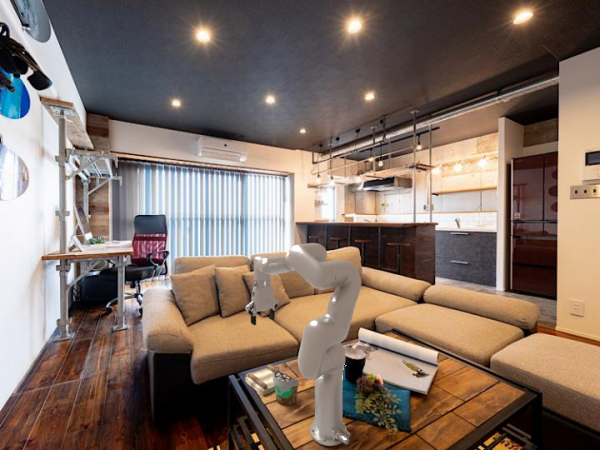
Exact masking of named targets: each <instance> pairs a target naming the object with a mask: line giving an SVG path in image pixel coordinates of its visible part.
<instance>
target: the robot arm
mask: <svg viewBox="0 0 600 450" xmlns="http://www.w3.org/2000/svg"><path fill="white" fill-rule="evenodd" d="M327 256H328V253H327V250H326V248H325V246H324V245H322V244H321V243H316V242H309V243H297V244H294V245H293V246H292V247H291V248H290V249H289V250H288V251H287V252H286V255H278V256H277V255H276V256H268V255H256V256H254V259H253V282H251V286H252V290H251V298H250V299H251V301H250V302H249V303H248V304H247V305H246V306H245V307H244V308H245V311H246V313H248V315H250V323H251V325H253V326H256V325H257V315H256V314H257V313H258V312H262V311H267V310H269V311H268V319H269V320H273V321H274V320H275V311H276V310H277V308H278V304H279V303H280V300H279V299H278V298H276V297H275V290H274V286H273V285H272V276H273V275H274V276H275V275H278V274H279V275H280V274H286V273H290V272H296V273H297V274H299V276H300V277H302V278H303V279H304V280H305V282H307V283H308V284H309V285H310V286H311V287H313V288H314V289H316V290H319V291H320V290H322V291H323V290H327V289H332V288H335V287H336V288H335V290H334V292H333V293H332V295H331V296H330V298H329V301H328V305H327V308H326V312H325V313H324V314H323V315H322V316H319V317H317V318H314V319H312V320H311V321H309V322H308V323H307V324H306V326H305V328H304V330H303V334H302V338H301V342H300V347H299V351H298V356H297V365H298V370H299V372H300V374H301V376H302V377H303V378H304V379H306V380H309V381H314V420H313V421H312V422H311V424H310V428H309V430H310V431H309V433H310V435H311V437H312V439H313V440H314V442H315V441H316V442H317V443H318V444H320V445H322V446H326V447H327V446H328V447H333V446H337V445H340V444H345V445H349V443H350V437H351V432H349V431H348V429H347V427H346V422H345V421H343V387H344V386H343V384H344V383H343V382H344V381H343V370H344V365H345V363H346V350H345V347H344V346H343V343H341V342H343V341H344V340H346V339H347V336H348V335H349V331H350V327H351V323H352V320H353V315H354V311H355V309H356V308H355V307H356V304H357V302H358V298H359V296H360V292H361V289H362V280H361V275H360V272H359V269H357V267H356V266H355V264H354V263H352V262H351V261H349V260H347V259H346V260H345V259H334V260H329V261H328V260H327ZM326 260H327V261H326ZM345 366H346V365H345Z"/></svg>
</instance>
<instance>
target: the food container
mask: <svg viewBox="0 0 600 450" xmlns="http://www.w3.org/2000/svg"><path fill="white" fill-rule="evenodd" d="M276 369H277V370H276V371H275V373H274V375H273V382H274V383H275V390H274V391H275V393H274V394H275V401H276V403H278V405H280V406H284V407H290V406H293V405H296V404H297V401H298V400H297V399H298V398H297V396H298V389H299V388H298V386H299V385H300V382H299V379H298V378H296V379H294V378H293V377H292V376H290V375H289V374H286V373H284V372H282V371H281V370H280V369H279V368H276ZM281 372H282V373H281ZM283 373H284V374H283Z"/></svg>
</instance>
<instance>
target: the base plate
mask: <svg viewBox="0 0 600 450" xmlns="http://www.w3.org/2000/svg"><path fill="white" fill-rule="evenodd" d="M277 369H278V368H276V367H274V366H273V365H272V364H266V368H263V369H261V370H259V371H256V372H254V373H253V372H248V373H247V376H245V377H244V380H245V381H244V382H245V383H246V384H247V385H249V386H250V387H251V388H252V389H254V390H255V391H256V392H257V393H258V394H259V395H261V396H262V397H264V396H266V395H268V394H270V393H272V392H274V391H275V383H274V382H273V375H274V373H275V371H276V370H277ZM280 372H281V373H283V374H285V373H284V372H282V371H280Z"/></svg>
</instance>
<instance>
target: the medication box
mask: <svg viewBox="0 0 600 450" xmlns="http://www.w3.org/2000/svg"><path fill="white" fill-rule="evenodd" d="M402 362H403V364H405V365H406V366H407V367H408V368H410V369H411V370H413V371H418V370H419V368H418V367H417V366H415V365H413V364H411V363H410V362H409V361H407V360H405V359H403V361H402Z"/></svg>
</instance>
